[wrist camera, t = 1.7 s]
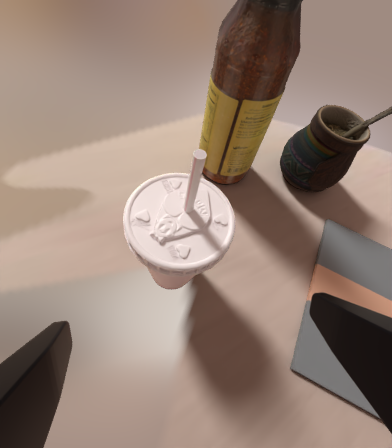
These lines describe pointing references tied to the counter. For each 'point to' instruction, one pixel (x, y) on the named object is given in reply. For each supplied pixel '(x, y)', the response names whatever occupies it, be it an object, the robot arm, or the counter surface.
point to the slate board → (347, 290)
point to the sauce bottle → (247, 83)
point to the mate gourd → (325, 148)
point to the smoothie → (179, 224)
